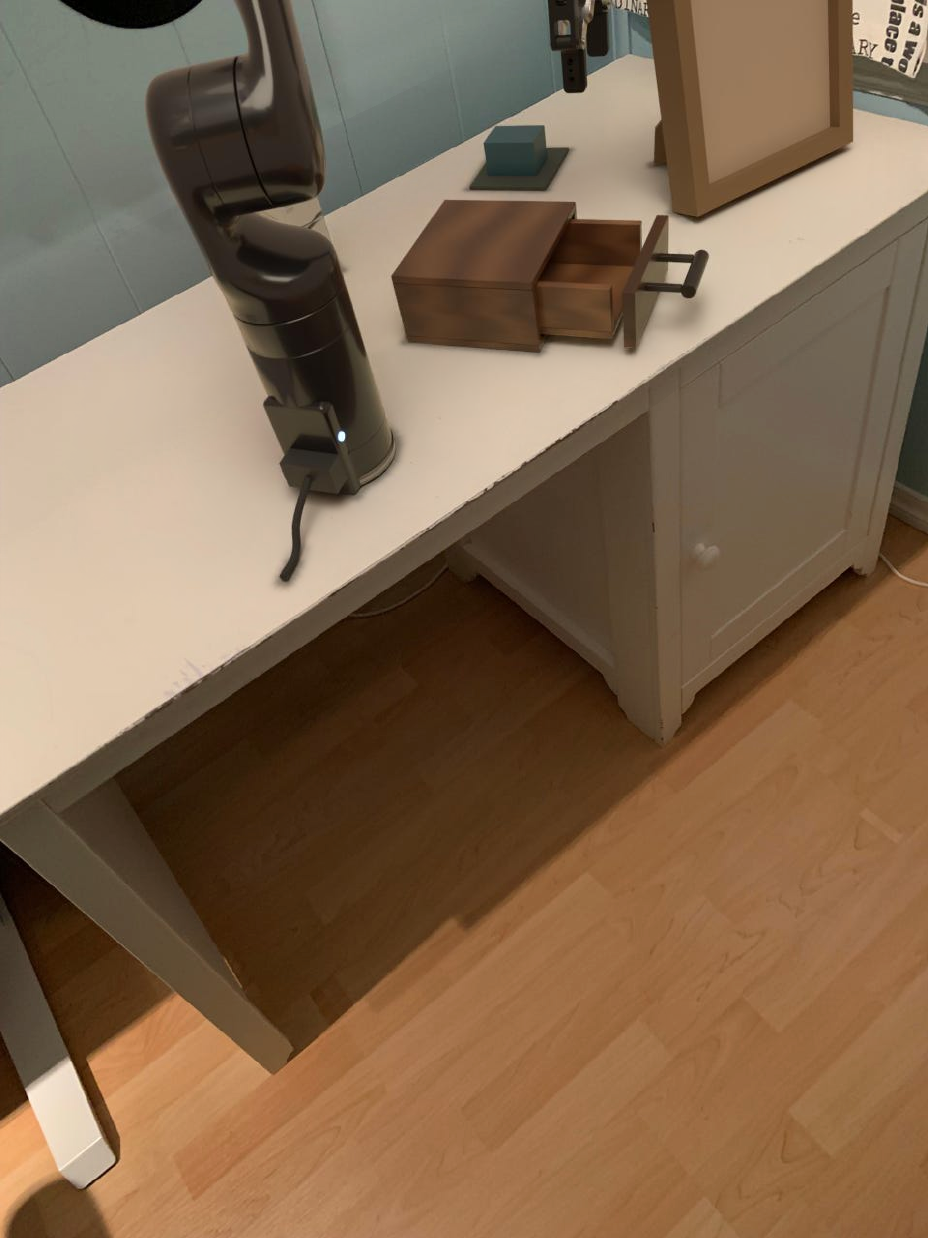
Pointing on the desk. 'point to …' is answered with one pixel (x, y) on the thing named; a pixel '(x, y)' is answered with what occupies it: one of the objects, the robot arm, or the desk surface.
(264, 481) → the desk surface
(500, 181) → the mat
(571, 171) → the desk surface
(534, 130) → the card box
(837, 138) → the photo frame
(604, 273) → the drawer
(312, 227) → the ink box
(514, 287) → the cabinet
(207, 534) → the desk surface
